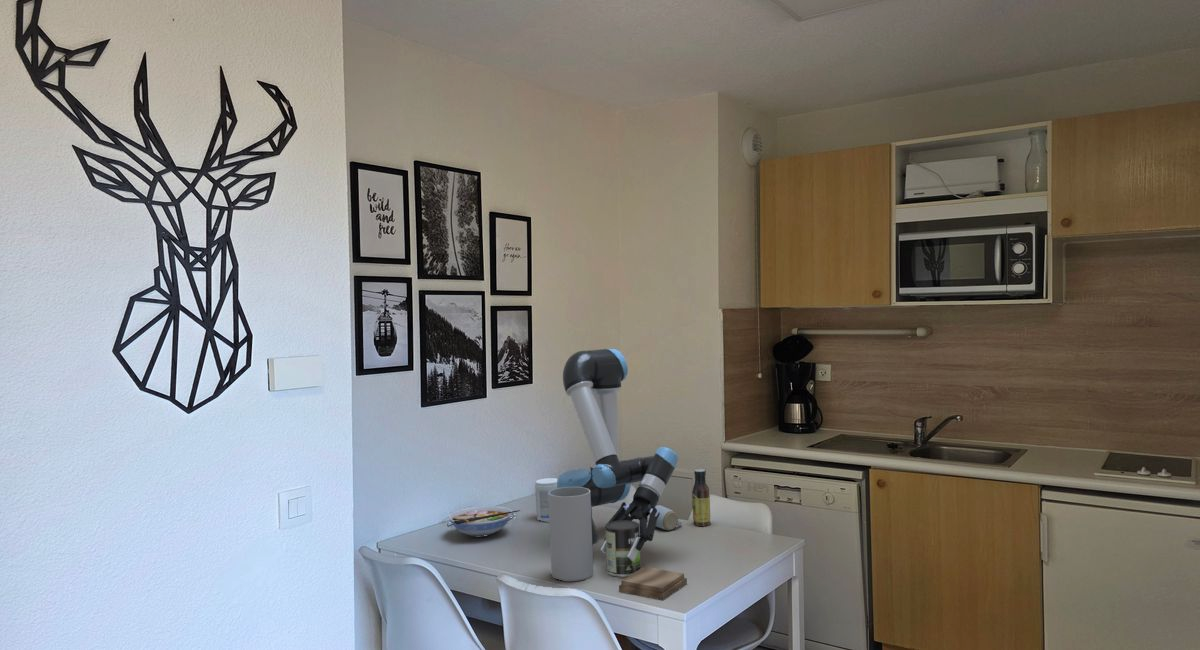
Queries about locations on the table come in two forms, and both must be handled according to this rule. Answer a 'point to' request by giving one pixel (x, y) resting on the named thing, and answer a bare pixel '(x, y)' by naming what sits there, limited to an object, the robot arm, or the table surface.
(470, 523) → the ramen bowl
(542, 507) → the supplement tub
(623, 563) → the coffee can
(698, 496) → the sauce bottle
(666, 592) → the walnut plinth
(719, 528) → the table surface
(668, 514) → the ceramic mug
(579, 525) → the cylinder vase
